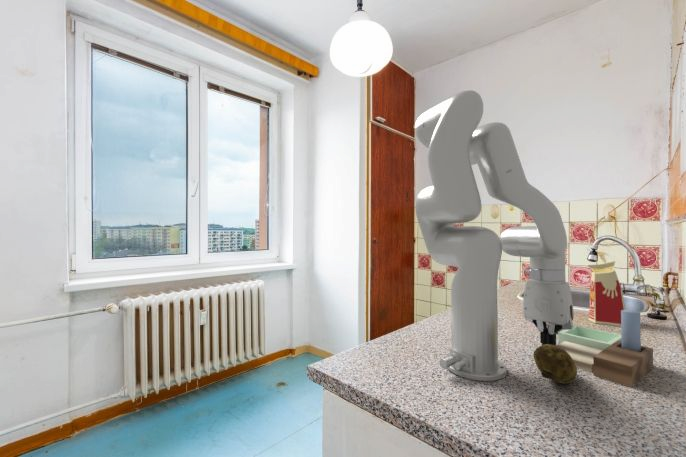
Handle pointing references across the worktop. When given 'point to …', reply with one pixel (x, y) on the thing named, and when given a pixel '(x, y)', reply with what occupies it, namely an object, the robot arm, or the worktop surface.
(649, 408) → the worktop surface
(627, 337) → the dowel
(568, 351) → the cream curved slab
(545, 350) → the potato
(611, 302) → the milk carton
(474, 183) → the robot arm
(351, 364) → the worktop surface
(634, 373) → the block
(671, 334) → the worktop surface
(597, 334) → the tray
